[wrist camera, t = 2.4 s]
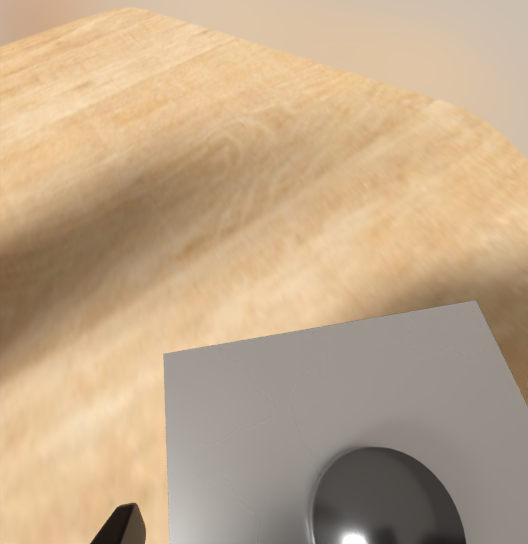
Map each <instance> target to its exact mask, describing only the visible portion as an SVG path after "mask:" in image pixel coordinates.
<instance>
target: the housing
mask: <svg viewBox="0 0 528 544" xmlns="http://www.w3.org/2000/svg"><path fill="white" fill-rule="evenodd" d="M163 355H164V385H165V416H166V446H167V476H168V506H169V536H170V544H528V406H527V404H526V402H525V400H524V398H523V396H522V393H521V391H520V389H519V387H518V385H517V383H516V381H515V379H514V377H513V375H512V373H511V371H510V369H509V367H508V365H507V363H506V361H505V359H504V357H503V355H502V353H501V351H500V348H499V346H498V344H497V342H496V340H495V338H494V336H493V334H492V332H491V330H490V328H489V326H488V324H487V322H486V320H485V318H484V316H483V314H482V312H481V310H480V308H479V306H478V303H477V301H476V300H474V301H468V302H463V303H457V304H451V305H445V306H439V307H433V308H428V309H422V310H416V311H410V312H404V313H399V314H393V315H387V316H381V317H375V318H369V319H364V320H358V321H352V322H346V323H340V324H334V325H329V326H323V327H317V328H311V329H305V330H300V331H294V332H288V333H282V334H276V335H270V336H265V337H259V338H253V339H247V340H241V341H236V342H230V343H224V344H218V345H212V346H206V347H201V348H195V349H189V350H183V351H177V352H172V353H166V354H163Z"/></svg>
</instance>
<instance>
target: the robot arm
mask: <svg viewBox="0 0 528 544" xmlns="http://www.w3.org/2000/svg"><path fill="white" fill-rule="evenodd" d="M145 539H146V528H145V524H144V521H143V518H142V516H141V513H140V510H139V507H138V505H137V504H136V503H129V504H124V505H120V506H118V507H117V508H116V509H115V510H114V512H113V513H112V515H111V516H110V517H109V519H108V520H107V521H106V523H105V524H104V526H103V527H102V528H101V530H100V531H99V532H98V534H97V535H96V536H95V538H94V539H93V541H92V542H91V543H90V544H145Z"/></svg>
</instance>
